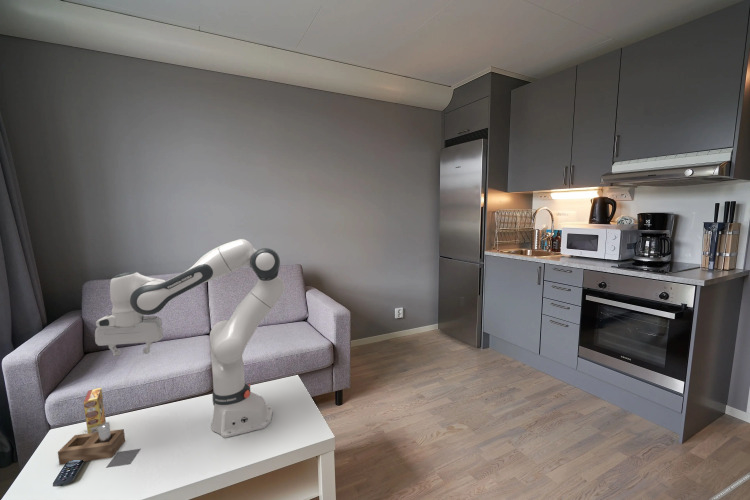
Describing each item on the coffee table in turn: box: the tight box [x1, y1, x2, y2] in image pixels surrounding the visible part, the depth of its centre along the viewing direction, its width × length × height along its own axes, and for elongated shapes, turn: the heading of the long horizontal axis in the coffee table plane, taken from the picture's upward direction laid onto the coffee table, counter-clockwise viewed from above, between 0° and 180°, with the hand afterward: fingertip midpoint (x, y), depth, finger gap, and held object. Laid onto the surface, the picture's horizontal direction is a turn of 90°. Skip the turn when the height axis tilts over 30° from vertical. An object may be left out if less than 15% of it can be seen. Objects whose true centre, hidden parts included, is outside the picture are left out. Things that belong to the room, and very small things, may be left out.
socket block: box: [57, 428, 126, 466], centre depth 110 cm, size 15×8×5 cm, turn 102°
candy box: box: [83, 387, 107, 434], centre depth 120 cm, size 9×4×15 cm, turn 33°
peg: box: [98, 421, 111, 443], centre depth 111 cm, size 3×3×10 cm
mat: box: [105, 448, 141, 469], centre depth 108 cm, size 7×7×1 cm
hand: (132, 354), depth 117 cm, fingers open, 8 cm apart
